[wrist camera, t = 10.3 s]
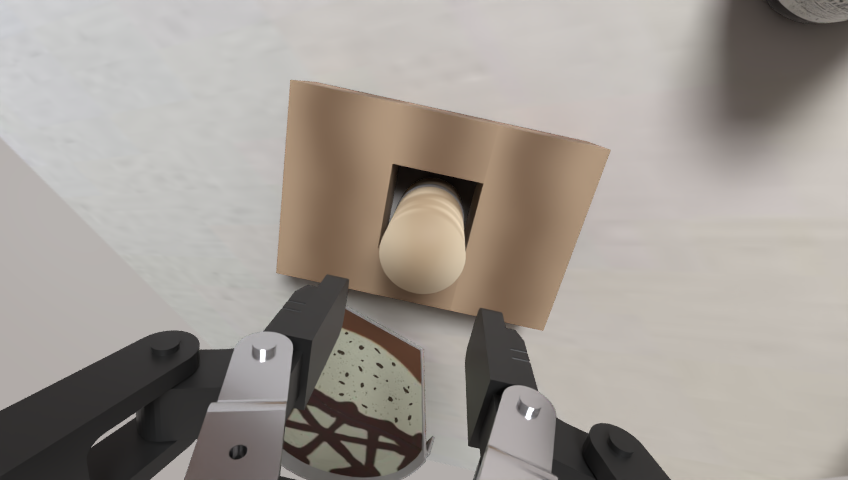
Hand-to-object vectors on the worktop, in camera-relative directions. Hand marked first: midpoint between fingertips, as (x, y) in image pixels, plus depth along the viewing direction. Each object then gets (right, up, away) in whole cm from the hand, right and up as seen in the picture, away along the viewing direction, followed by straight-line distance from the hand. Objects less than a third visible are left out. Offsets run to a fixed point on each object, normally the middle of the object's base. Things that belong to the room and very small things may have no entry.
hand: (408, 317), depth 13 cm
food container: (-5, -6, +19) cm, 21 cm away
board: (+1, +5, +14) cm, 15 cm away
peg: (+1, +5, +14) cm, 15 cm away
